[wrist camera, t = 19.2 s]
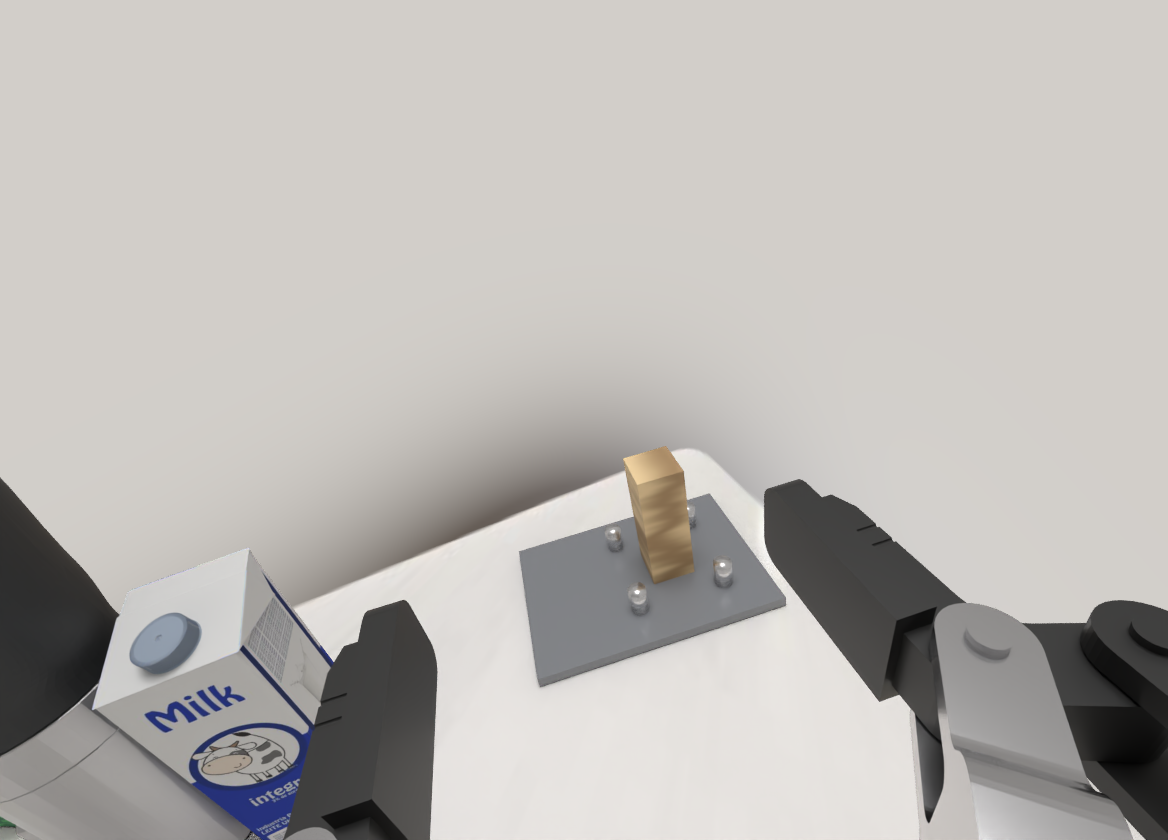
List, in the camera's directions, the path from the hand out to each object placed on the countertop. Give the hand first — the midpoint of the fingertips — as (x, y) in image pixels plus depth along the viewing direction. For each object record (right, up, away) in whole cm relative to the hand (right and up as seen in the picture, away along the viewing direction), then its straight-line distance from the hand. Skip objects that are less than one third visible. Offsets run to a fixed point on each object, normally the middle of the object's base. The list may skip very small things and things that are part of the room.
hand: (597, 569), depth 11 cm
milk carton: (-20, -24, +27) cm, 41 cm away
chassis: (+5, -12, +37) cm, 39 cm away
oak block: (+8, -11, +37) cm, 39 cm away
